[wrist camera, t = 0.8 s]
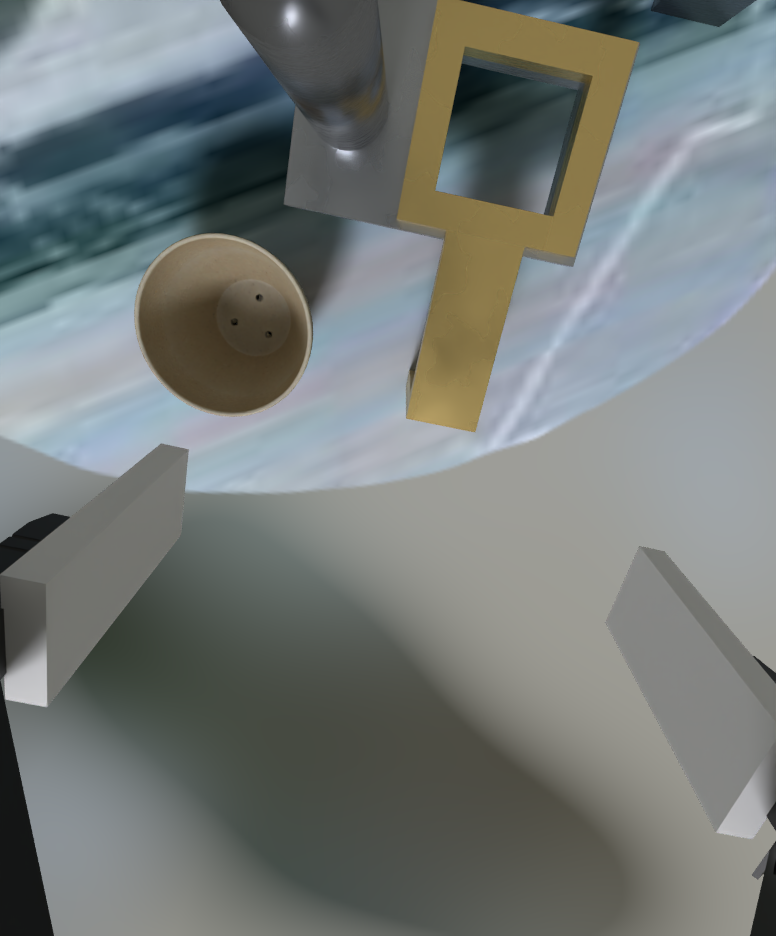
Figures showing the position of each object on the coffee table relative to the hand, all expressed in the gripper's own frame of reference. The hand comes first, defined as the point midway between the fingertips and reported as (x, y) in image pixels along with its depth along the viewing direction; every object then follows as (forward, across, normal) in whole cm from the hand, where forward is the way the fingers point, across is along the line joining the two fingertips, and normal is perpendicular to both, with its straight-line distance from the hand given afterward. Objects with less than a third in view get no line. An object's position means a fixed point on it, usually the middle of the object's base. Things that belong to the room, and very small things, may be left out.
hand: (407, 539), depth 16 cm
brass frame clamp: (+25, -1, +8) cm, 26 cm away
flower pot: (+25, -11, +1) cm, 27 cm away
